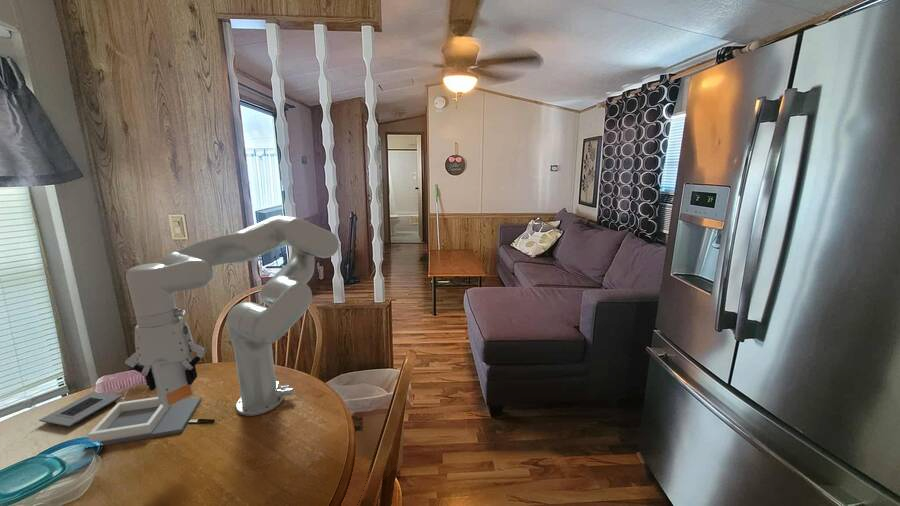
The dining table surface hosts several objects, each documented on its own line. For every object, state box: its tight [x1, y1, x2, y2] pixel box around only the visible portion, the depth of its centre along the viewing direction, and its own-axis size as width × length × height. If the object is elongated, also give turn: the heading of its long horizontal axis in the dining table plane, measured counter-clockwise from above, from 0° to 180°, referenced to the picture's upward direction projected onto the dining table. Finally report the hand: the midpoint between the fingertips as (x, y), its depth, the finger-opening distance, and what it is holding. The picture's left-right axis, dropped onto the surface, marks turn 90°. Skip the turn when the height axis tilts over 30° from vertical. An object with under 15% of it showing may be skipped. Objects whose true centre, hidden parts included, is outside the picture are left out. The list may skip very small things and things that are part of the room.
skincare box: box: [151, 361, 195, 408], centre depth 87 cm, size 6×4×12 cm
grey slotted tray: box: [38, 391, 123, 427], centre depth 103 cm, size 13×10×2 cm
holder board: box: [87, 396, 202, 446], centre depth 99 cm, size 21×14×4 cm, turn 106°
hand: (173, 383), depth 87 cm, fingers closed on skincare box, 7 cm apart
